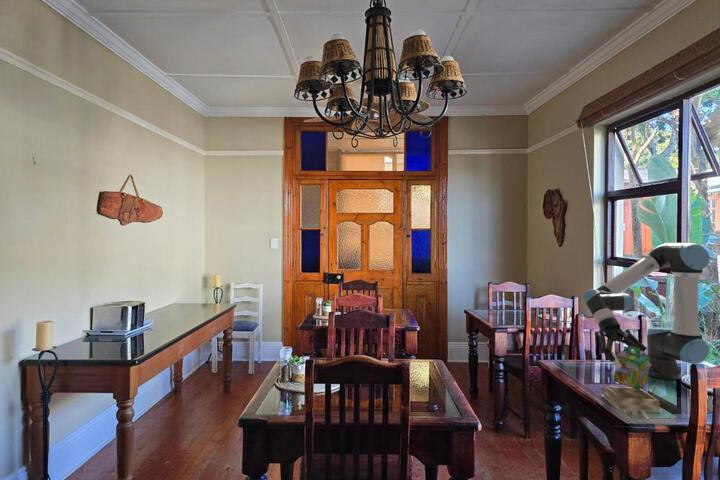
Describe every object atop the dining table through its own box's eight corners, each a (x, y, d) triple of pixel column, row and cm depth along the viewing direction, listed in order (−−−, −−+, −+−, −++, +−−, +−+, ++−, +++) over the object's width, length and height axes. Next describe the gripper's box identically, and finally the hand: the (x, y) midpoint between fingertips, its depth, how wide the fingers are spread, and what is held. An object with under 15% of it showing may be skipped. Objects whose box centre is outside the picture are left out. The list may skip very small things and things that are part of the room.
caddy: (639, 397, 176) (639, 387, 176) (659, 410, 162) (659, 400, 162) (604, 395, 177) (604, 386, 177) (620, 409, 164) (620, 398, 164)
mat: (640, 397, 177) (641, 396, 177) (663, 413, 161) (663, 412, 161) (600, 395, 179) (600, 394, 179) (618, 411, 163) (618, 409, 163)
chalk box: (613, 381, 171) (615, 347, 168) (623, 373, 176) (625, 340, 173) (639, 390, 163) (641, 355, 161) (648, 382, 169) (650, 347, 166)
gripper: (627, 325, 186) (655, 371, 171) (576, 327, 183) (601, 373, 168) (637, 316, 181) (667, 361, 166) (585, 317, 178) (611, 364, 163)
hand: (634, 367), depth 167 cm, fingers closed on chalk box, 12 cm apart
